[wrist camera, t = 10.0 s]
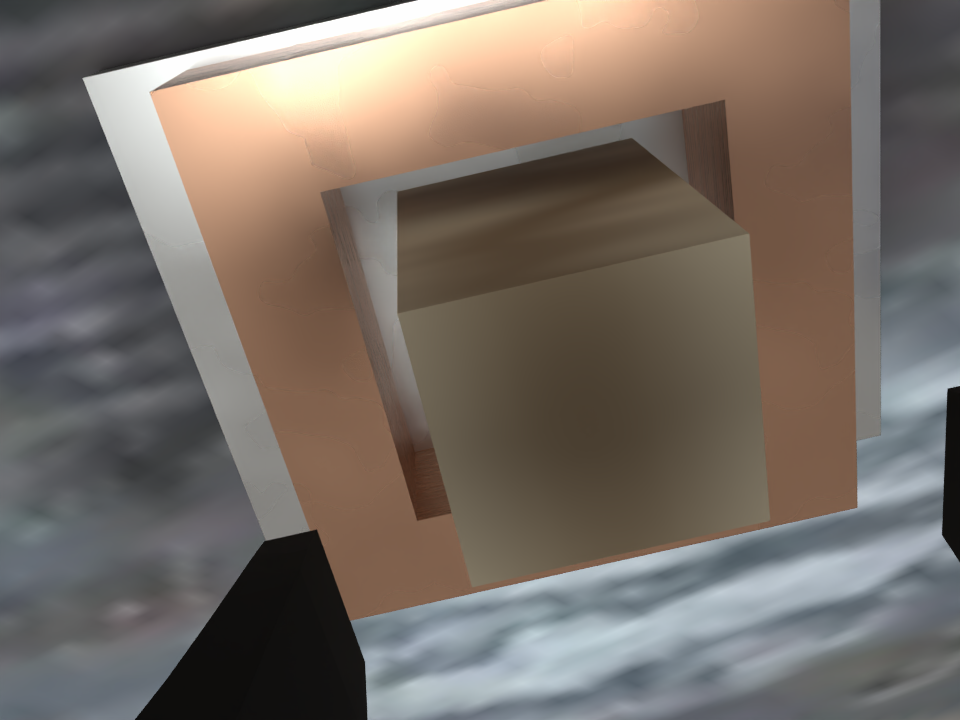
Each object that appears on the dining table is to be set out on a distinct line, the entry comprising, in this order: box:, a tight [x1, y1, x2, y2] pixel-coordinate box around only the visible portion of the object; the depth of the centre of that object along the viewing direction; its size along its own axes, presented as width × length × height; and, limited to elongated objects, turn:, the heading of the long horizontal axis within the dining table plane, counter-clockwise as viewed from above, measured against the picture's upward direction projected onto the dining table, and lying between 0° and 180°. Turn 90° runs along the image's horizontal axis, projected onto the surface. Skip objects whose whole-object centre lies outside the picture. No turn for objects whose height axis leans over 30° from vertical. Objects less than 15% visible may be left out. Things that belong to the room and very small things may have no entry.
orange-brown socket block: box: [83, 0, 881, 621], centre depth 17 cm, size 14×11×4 cm
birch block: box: [397, 138, 770, 587], centre depth 15 cm, size 4×4×6 cm
